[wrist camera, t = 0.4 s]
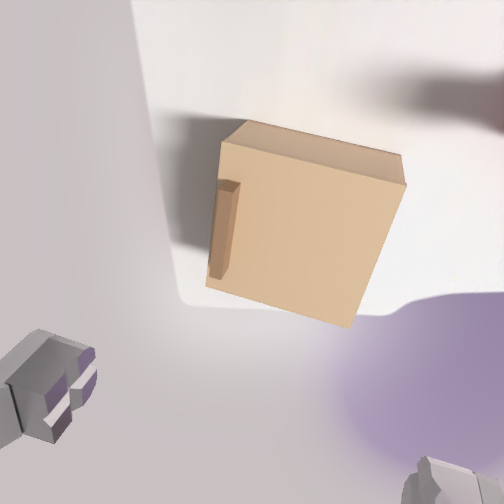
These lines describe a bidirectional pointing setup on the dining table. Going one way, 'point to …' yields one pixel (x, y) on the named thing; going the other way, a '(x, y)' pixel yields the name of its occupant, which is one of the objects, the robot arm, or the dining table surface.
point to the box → (320, 149)
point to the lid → (297, 231)
